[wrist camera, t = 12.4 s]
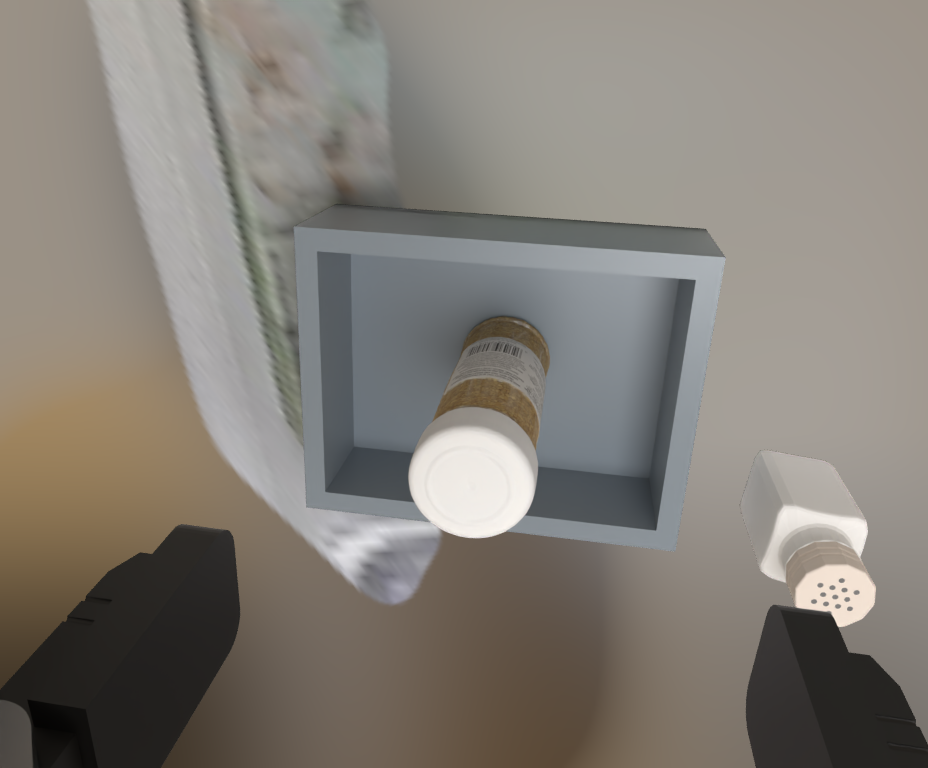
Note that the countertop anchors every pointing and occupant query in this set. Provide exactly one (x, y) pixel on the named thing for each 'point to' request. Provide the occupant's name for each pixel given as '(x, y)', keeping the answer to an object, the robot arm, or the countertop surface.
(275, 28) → the countertop surface
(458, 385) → the spice jar
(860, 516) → the white bottle
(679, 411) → the tote
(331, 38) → the countertop surface
